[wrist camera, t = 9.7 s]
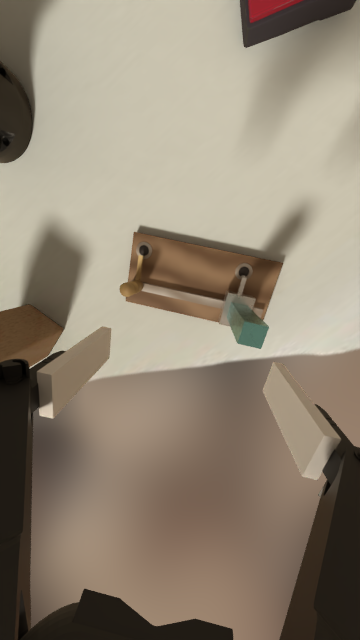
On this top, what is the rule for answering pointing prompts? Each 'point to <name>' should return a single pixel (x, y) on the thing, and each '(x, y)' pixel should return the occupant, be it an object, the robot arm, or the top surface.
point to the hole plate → (194, 277)
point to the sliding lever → (243, 317)
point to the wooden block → (26, 334)
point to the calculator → (284, 16)
